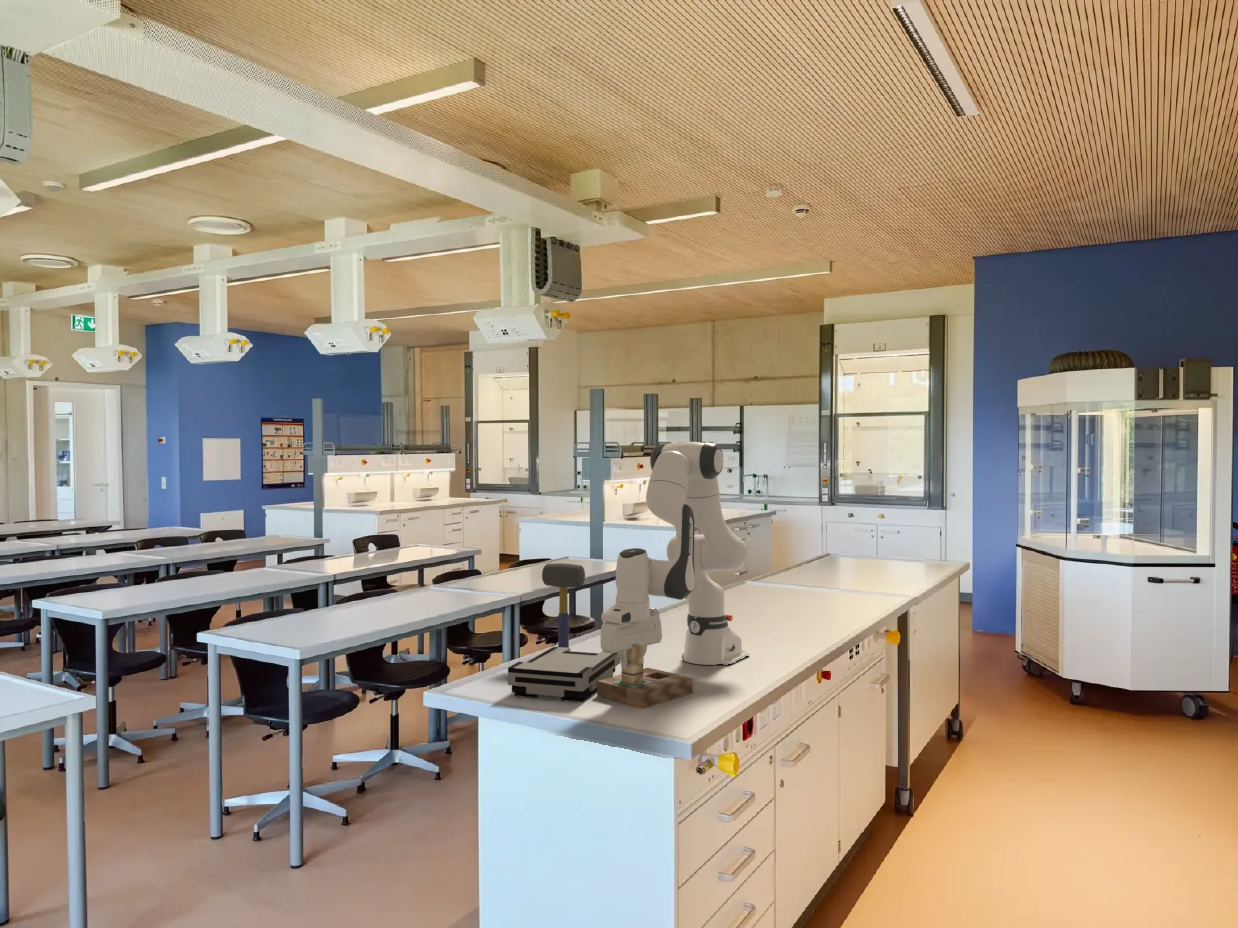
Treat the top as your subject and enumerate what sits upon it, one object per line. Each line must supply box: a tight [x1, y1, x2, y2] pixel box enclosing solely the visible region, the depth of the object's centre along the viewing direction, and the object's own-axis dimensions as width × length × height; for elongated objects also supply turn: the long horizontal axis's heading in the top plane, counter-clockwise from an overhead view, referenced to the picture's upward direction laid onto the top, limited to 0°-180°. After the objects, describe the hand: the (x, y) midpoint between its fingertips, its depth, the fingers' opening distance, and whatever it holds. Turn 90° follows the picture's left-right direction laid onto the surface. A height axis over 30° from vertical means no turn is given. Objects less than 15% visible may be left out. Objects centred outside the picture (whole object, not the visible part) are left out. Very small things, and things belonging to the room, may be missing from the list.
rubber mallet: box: [541, 562, 586, 648], centre depth 260 cm, size 12×8×30 cm, turn 68°
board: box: [596, 667, 694, 709], centre depth 220 cm, size 20×16×4 cm
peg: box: [620, 642, 644, 686], centre depth 217 cm, size 4×4×12 cm
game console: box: [507, 646, 621, 703], centre depth 229 cm, size 21×32×8 cm, turn 163°
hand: (632, 664), depth 217 cm, fingers closed on peg, 4 cm apart
